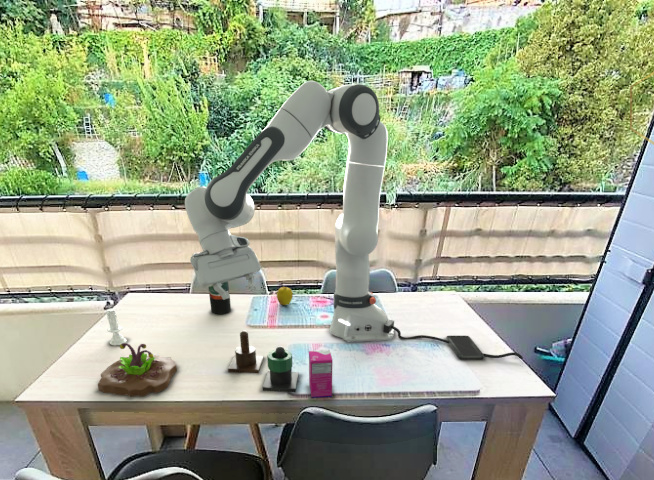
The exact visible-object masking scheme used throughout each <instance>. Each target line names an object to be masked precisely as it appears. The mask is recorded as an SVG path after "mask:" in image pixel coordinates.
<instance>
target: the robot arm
mask: <svg viewBox="0 0 654 480" xmlns="http://www.w3.org/2000/svg"><path fill="white" fill-rule="evenodd" d="M322 129H325V130H327V131H328V132H331V133H337V134H341V135H345V136H347V140H348V141H347V142H348V154H347V159H346V166H345V175H344V180H343V181H344V183H343V189H342V193H343V194H342V196H343V197H342V200H343V201H342V213H341V214H340V215H339V216H338V218H337V219H336V221H335V226H334V250H335V251H334V253H335V290H334V291H333V300H332V301H333V303H332V305H333V313H332V314H333V315H332V319H331V323H330V326H329V328H328V330H329V333H331V334H332V335H333V336H334V337H338V338H340V339H342V340H344V342H345V341H346V342H348V343H356V342H357V343H359V342H374V341H375V342H377V341H378V342H379V341H390V340H392V339H393V338H394V335H395V332H397V337H398V338H399V339H400V340H415V339H427V340H428V339H429V340H434V341H439V342H443V343H446V344H448V345H449V341H448V340H446V338H441V337H437V336H432V335H427V334H426V335H424V334H419V335H413V336H407V337H404V336H402V334H401V331H400V329H399V328H398V327H396V326H395V320H393V319H388V315H387V313H386V312H385V311H384V310H383V309H382V308H381V307H380V306H378V305H377V299H376V297H375V294H373V292H372V291H369V290H370V289H369V288H370V275H371V266H370V256H369V255H370V254H371V253H373V252H374V251H375V249H376V248H377V245H378V242H379V219H380V201H381V200H380V199H381V198H380V197H381V191H382V186H383V180H384V174H385V166H386V161H387V154H388V153H387V152H388V128H387V127H386V125H385V124H384V123H383V122H382V121H381V114H380V102H379V99H378V96H377V94H376V92H375V91H374V90H373V89H372V88H371V87H369V86H367V85H365V84H361V83H360V84H359V83H356V84H343V85H341V86H339V87H332V88H329V89H326V88H325V86H323V85H322V84H321V83H319V82H318V81H314V80H307V81H305V82H303V83H302V84H301V85H299V87H298V88H297V89H295V91H294V92H293V93H292V94H291V95H290V96H289V97H288V98H287V99H286V101H284V103H283V104H282V105H281V107H280V108H279V109H278V111H277V112H276V113H275V115H274V116H273V117H272V119H270V121H269V123H268V124H267V125H266V126H265V127H264V129H262V131H261V132H260V133H259V134H258V135H256V137H255V138H254V139H253V140H252V141H251V142H250V143H249V144H248V145H247V147H245V149H244V151H243V152H242V153H241V154H240V155H239V156H238V158H237V159H236V160H235V161H234V162H233V164H232V165H230V167H229V168H228V169H226V170H225V171H223V172H222V173H220V174H218V175H217V176H215V177H214V178H213V179H211V180H209V182H208V183H207V185H206V186H198V187H195V188H194V189H191V191H190V192H188V193H187V195H186V197H185V199H184V208H185V211H186V215H187V217H188V221H189V223H190V225H191V227H192V229H193V231H194V232H195V233H196V235H197V237H198V243H199V245H200V247H201V249H202V251H199V252H194V253H193V254H192V255H190V259H189V261H190V265H191V266H192V268H193V270H194V274H195V277H196V281H197V283H198V286H200V287H201V288H203V289H206V288H207V289H208V287H210V286H213V288H214V290H216V291H217V292H218V293H219V294H221V296H222V299H223V300H225V299H228V298H229V297H230V298H231V295H230V291H229V292H228V291H226V292H225V290H224V289H223V288H222V287H221V286H222V284H221V283H224V282H228V283H229V282H231V281H236V280H238V279H242V278H244V279H246V281H247V285H246V286H245V287H246V289H247V291H248V292H253V291H255V290H256V286H255V276H254V275H256V274H257V273H259V272H260V271H261V263H260V260H259V258H258V256H257V254H256V252H255V251H254V249H253V248H252V247H250V244H251V243H250V240H249V239H248V238H247V237H243V236H237V235H234V234H231V232H230V229H234V228H238V227H241V226H245V225H247V224H248V223H249V222H251V221H252V219H253V217H254V215H255V211H256V210H255V209H256V207H255V206H256V205H255V203H254V200H253V198H252V197H251V196H250V195H249V193H248V192H249V189H250V188H251V186H252V185H253V184H254V183H256V182H257V179H259V177H260V176H261V175H262V174H263V173H264V171H266V169H267V168H268V167H269V166H270V165H271V164H272V163H274V162H277V161H287V162H289V161H294V160H296V159H297V158H298V157H300V156H301V154H302V153H303V152H305V150H306V149H307V148H308V147H309V145H310V144H311V143H312V141H313V140H314V139H315V137H316V136H317V135H318V133H319V132H320V131H321V130H322ZM450 342H451V341H450ZM452 343H453V342H452ZM455 344H456V343H455ZM457 345H458V344H457ZM459 346H460V345H459ZM462 347H463V346H462ZM464 348H465V347H464ZM467 349H468V348H467ZM470 350H471V349H470ZM473 351H474V350H473ZM476 352H477V351H476ZM482 353H483V354H484V357H483V358H490V359H501V358H506V357H510V356H511V357H512V356H515V357H517V358H518V359H520V360H523V359H524V357H523V356H522V355H521V353H518V352H516V351H515V352H513V351H512V352H506V353H502V354H489V353H484V352H482Z"/></svg>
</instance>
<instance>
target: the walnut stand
mask: <svg viewBox="0 0 654 480" xmlns="http://www.w3.org/2000/svg"><path fill="white" fill-rule="evenodd" d="M239 339H240V340H239V342H240V345H239V346H236V348H235V349H234V356H233V358H232V360H231V362H230V364H229V365H228V368H227V372H228V373H237V374H238V373H239V374H259V373H260V371H261V368H262V365H263V363H264V360H265V356H264V355H259V354H258V355H257V351H256V347H255V346H253V345H250V339H249V332H248V331H247V330H241V331H240V332H239Z"/></svg>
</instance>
